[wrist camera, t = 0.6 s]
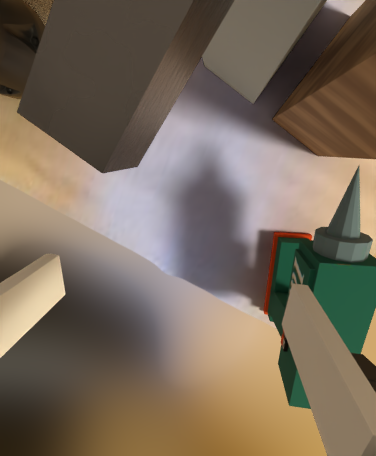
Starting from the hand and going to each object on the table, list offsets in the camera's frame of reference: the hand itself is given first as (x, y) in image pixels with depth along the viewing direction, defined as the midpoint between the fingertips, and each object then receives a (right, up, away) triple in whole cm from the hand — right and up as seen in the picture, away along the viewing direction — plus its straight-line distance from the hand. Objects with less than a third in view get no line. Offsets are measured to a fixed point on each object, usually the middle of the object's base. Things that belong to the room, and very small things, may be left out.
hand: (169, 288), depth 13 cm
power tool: (+21, 0, +31) cm, 37 cm away
